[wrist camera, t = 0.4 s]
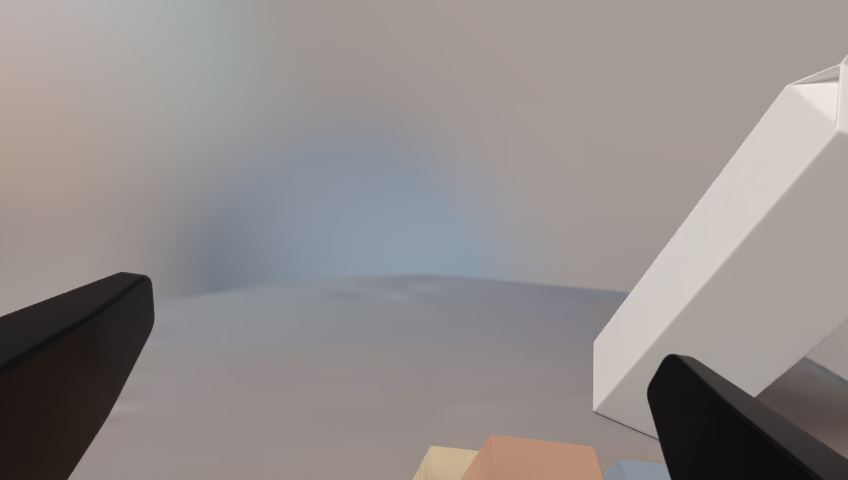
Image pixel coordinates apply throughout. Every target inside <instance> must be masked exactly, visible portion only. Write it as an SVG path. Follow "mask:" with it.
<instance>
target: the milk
mask: <svg viewBox="0 0 848 480" xmlns="http://www.w3.org/2000/svg"><path fill="white" fill-rule="evenodd" d="M847 321H848V55H847V56H846V57H845V58H844V60H843V61H842V62H841V63H840V64H839V65H836V66H834V67H831V68H829V69H826V70H824V71H821V72H818V73H816V74H813V75H811V76H808V77H806V78H804V79H801V80H798V81H796V82H794V83H791V84H789V85H787V86H786V87H785V88H784V89H783V90H782V92H781V93H780V95H779V96H778V97H777V98H776V100H775V101H774V103H773V104H772V105H771V107H770V108H769V109H768V111H767V112H766V113H765V114H764V116H763V117H762V118H761V120H760V121H759V123H758V124H757V125H756V127H755V128H754V129H753V130H752V132H751V133H750V134H749V136H748V137H747V138H746V140H745V141H744V142H743V144H742V145H741V147H740V148H739V149H738V151H737V152H736V153H735V154H734V156H733V157H732V159H731V160H730V161H729V162H728V164H727V165H726V166H725V168H724V169H723V170H722V172H721V173H720V175H719V176H718V177H717V179H716V180H715V181H714V183H713V184H712V185H711V186H710V188H709V189H708V191H707V192H706V193H705V195H704V196H703V197H702V198H701V200H700V201H699V203H698V204H697V205H696V206H695V208H694V209H693V210H692V212H691V213H690V214H689V216H688V217H687V218H686V220H685V221H684V222H683V224H682V225H681V226H680V228H679V229H678V230H677V232H676V233H675V234H674V236H673V237H672V238H671V240H670V241H669V242H668V244H667V245H666V246H665V248H664V249H663V251H662V252H661V253H660V254H659V256H658V257H657V258H656V260H655V261H654V262H653V264H652V265H651V266H650V268H649V269H648V270H647V272H646V273H645V274H644V276H643V277H642V278H641V280H640V281H639V282H638V284H637V285H636V286H635V288H634V289H633V290H632V292H631V293H630V294H629V296H628V297H627V298H626V300H625V301H624V302H623V304H622V305H621V306H620V308H619V309H618V310H617V312H616V313H615V314H614V316H613V317H612V318H611V320H610V321H609V322H608V324H607V325H606V326H605V328H604V329H603V330H602V332H601V333H600V334H599V336H598V337H597V338H596V340H595V341H594V352H593V411H594V412H596V413H598V414H601V415H603V416H605V417H608V418H610V419H612V420H615V421H617V422H619V423H621V424H624V425H626V426H628V427H631V428H633V429H635V430H638V431H640V432H642V433H645V434H647V435H649V436H652V437H654V438H656V439H658V440H659V438H658V435H657V431H656V428H655V424H654V421H653V417H652V414H651V410H650V407H649V403H648V400H647V388H648V385H649V383H650V381H651V380H652V378H653V376H654V374H655V373H656V371H657V369H658V367H659V366H660V364H661V362H662V360H663V359H664V357H666V356H667V355H669V354H679V355H686V356H691V357H693V358H695V359H697V360H698V361H700V362H701V363H703V364H704V365H706V366H707V367H709V368H710V369H712V370H713V371H715V372H716V373H718V374H719V375H721V376H722V377H724V378H725V379H727V380H728V381H730V382H731V383H733V384H734V385H736V386H737V387H739V388H741V389H742V390H744V391H745V392H747V393H748V394H750V395H751V396H753V397H754V398H755V397H756V396H757V395H758V394H759V393H761V392H762V391H763V390H764V389H765V388H767V387H768V386H769V385H770V384H772V383H773V382H774V381H775V380H776V379H778V378H779V377H780V376H781V375H782V374H784V373H785V372H786V371H787V370H788V369H790V368H791V367H792V366H793V365H795V364H796V363H797V362H798V361H799V360H801V359H802V358H803V357H804V356H805V355H807V354H808V353H809V352H810V351H811V350H813V349H814V348H815V347H816V346H817V345H819V344H820V343H821V342H822V341H824V340H825V339H826V338H827V337H828V336H830V335H831V334H832V333H833V332H834V331H836V330H837V329H838V328H839V327H841V326H842V325H843V324H844V323H845V322H847Z"/></svg>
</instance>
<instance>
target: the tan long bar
mask: <svg viewBox="0 0 848 480" xmlns="http://www.w3.org/2000/svg"><path fill="white" fill-rule="evenodd" d="M478 452H479V451H475V450H465V449H456V448H447V447H437V446H430V448H429V450H428V452H427V454H426V456H425V458H424V460H423V461H422V463H421V465H420V467H419V469H418V471H417V473H416V475H415V476H414V478H413V480H460V479H461V477H462V476H463V475H464V473H465V472H466V470H467V469H468V467H469V466H470V464H471V463H472V461H473V460H474V458H475V457H476V455H477V454H478Z"/></svg>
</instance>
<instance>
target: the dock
mask: <svg viewBox="0 0 848 480" xmlns="http://www.w3.org/2000/svg"><path fill="white" fill-rule="evenodd" d="M602 476H603V480H671V479H670V475H669V472H668V469H667V466H666V464H663V463H654V462H645V461H636V460H627V459H619V460H618V461H617V462H616V463H615V464H614V465H613V466H612V467H610V468H609V469H608V470H607V471H606V472H605V473H604V474H603V475H602Z"/></svg>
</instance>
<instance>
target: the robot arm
mask: <svg viewBox="0 0 848 480" xmlns="http://www.w3.org/2000/svg"><path fill="white" fill-rule="evenodd" d="M153 324H154V302H153V289H152V282H151V279H150V278H149V277H148V276H146V275H141V274H135V273H127V272H120V273H117V274H114V275H111V276H109V277H106V278H103V279H101V280H98V281H95V282H92V283H90V284H87V285H84V286H82V287H79V288H77V289H74V290H71V291H69V292H66V293H63V294H60V295H58V296H55V297H52V298H50V299H47V300H44V301H42V302H39V303H36V304H34V305H31V306H28V307H26V308H23V309H20V310H18V311H15V312H13V313H10V314H7V315H4V316H2V317H0V480H67V479H68V478H69V476H70V475H71V473H72V472H73V470H74V469H75V467H76V466H77V464H78V463H79V461H80V459H81V458H82V456H83V455H84V453H85V452H86V450H87V449H88V447H89V446H90V444H91V442H92V441H93V439H94V438H95V436H96V435H97V433H98V432H99V430H100V429H101V427H102V425H103V424H104V422H105V420H106V419H107V417H108V416H109V414H110V412H111V410H112V408H113V406H114V404H115V403H116V401H117V399H118V397H119V395H120V393H121V391H122V389H123V387H124V385H125V383H126V381H127V379H128V377H129V375H130V373H131V371H132V369H133V367H134V365H135V363H136V361H137V359H138V357H139V355H140V353H141V351H142V349H143V347H144V345H145V343H146V341H147V339H148V337H149V335H150V333H151V331H152V328H153ZM647 400H648V403H649V407H650V410H651V414H652V417H653V421H654V424H655V428H656V431H657V435H658V438H659V442H660V445H661V448H662V452H663V455H664V459H665V462H666V466H667V469H668V472H669V475H670V479H671V480H848V459H846V458H845V457H843V456H842V455H840V454H839V453H837V452H836V451H834V450H833V449H831V448H830V447H828V446H827V445H825V444H824V443H822V442H821V441H819V440H818V439H816V438H815V437H813V436H811V435H810V434H808V433H807V432H805V431H804V430H802V429H801V428H799V427H798V426H796V425H795V424H793V423H792V422H790V421H789V420H787V419H786V418H784V417H783V416H781V415H780V414H778V413H777V412H775V411H774V410H772V409H771V408H769V407H768V406H766V405H765V404H763V403H762V402H760V401H759V400H757V399H756V398H754V397H753V396H751V395H750V394H748V393H747V392H745V391H744V390H742V389H741V388H739V387H737V386H736V385H734V384H733V383H731V382H730V381H728V380H727V379H725V378H724V377H722V376H721V375H719V374H718V373H716V372H715V371H713V370H712V369H710V368H709V367H707V366H706V365H704V364H703V363H701V362H700V361H698V360H697V359H695V358H693V357H691V356H686V355H679V354H669V355H667V356H666V357H664V359H663V360H662V362H661V364H660V366H659V367H658V369H657V371H656V373H655V374H654V376H653V378H652V380H651V381H650V383H649V385H648V388H647Z"/></svg>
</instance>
